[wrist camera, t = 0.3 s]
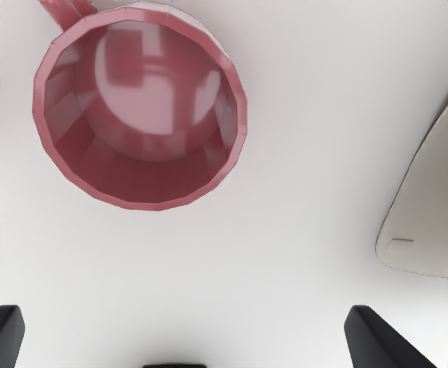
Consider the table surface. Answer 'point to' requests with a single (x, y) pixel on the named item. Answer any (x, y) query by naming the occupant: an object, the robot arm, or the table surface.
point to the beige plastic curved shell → (420, 211)
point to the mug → (138, 104)
